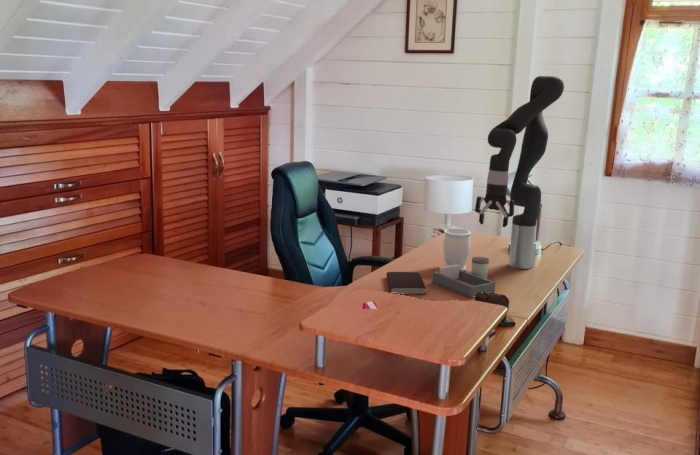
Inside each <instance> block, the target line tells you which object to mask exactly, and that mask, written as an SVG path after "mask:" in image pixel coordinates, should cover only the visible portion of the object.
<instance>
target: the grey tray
mask: <svg viewBox="0 0 700 455" xmlns="http://www.w3.org/2000/svg"><path fill="white" fill-rule="evenodd" d="M431 278H432V279H431V281H432V282H431V283H432V284H434V285H437V286H439V287H441V288H444V289H447V290H449V291H451V292H454V293H457V294H460V295H462V296H464V297H467V298H469V299H474V298H475V297H474V296H475V293H477V292H487V293H493V294H495V288H496V282H495V281H493V280H490V279H488V278H487V279H485V278H482V277H479V276H476V275H474V274H471V272H468V271H465V270H463V271H462V270H459V279H453V278H450V277H447V276H445V275H442V274H439V272H436V271H433V272H432V277H431Z"/></svg>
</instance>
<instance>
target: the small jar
mask: <svg viewBox="0 0 700 455" xmlns="http://www.w3.org/2000/svg"><path fill="white" fill-rule="evenodd" d="M489 263H490V259H489V258H488V257H485V256H473V257H472V258H471V268H470V269H471V270H470V271H471V272H470V273H471V274H474V275H476V276H479V277H482V278H485V279H488V272H489Z"/></svg>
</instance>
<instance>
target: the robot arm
mask: <svg viewBox="0 0 700 455" xmlns="http://www.w3.org/2000/svg"><path fill="white" fill-rule="evenodd" d="M564 90H565V85H564V81H563V79H562V78H561V77H560V76H555V75H554V76H553V75H538V76H536V77H535V78H534V79H533V81H532V83H531V87H530V91H529V92H530V95H529V101H528V102H526V103H524V104H522V105H520V106H518V107H517V109H515V110H514V111H513V112H512V113H511V114H510V116H508V117H507V119H505V120H504V121H502V122H500V123H499V124H498V125H495V126H494V127H493V128H492V129H491V130H490V131H489V132H488V133H489V134H488V135H487V143H488V145H489V146H490V147H492V148H496V149H497V148H498V149H499V152H498V153H496V154H492V155H491V156H490V160H489V168H488V174H487V178H486V190H485V196H481V195H478V196H477V197H476V202H475V209H474V212H475V213H478V214H479V217H478V222H479V224H480V225H484V222H485V212H487V210H495V211H500V212H501V214H502V216H503V218H502V219H503V220H502V228H506V227H507V226H508V223H509V217H510V218H511V217H512V222H511V235H510V246H509V247H510V248H509V255H508V256H509V259H508V266H509V267H511V268H514V269H521V270H525V269H526V270H527V269H531V268H533V267H534V266H535V258H536V248H537V243H536V241H535V240H536V232H537V230H536V228H537V222H538V218H539V216H540V208H541V201H542V190H541V188H540V187H539V186H538V185H536V184H532V183H528V181H529V180H528V179H529V177H530V174H531V172H532V171H533V168H535V166H536V165H537V164H538V162H539V161H540V160H541V159H542V157H543V156H544V155H545V153H546V149H547V145H548V139H549V132H548V128H547V126H546V121H545V119H544V116H543V111H544V110H546V109H547V108H548V107H549V106H551V105H552V104H553V103H555V102H556V101H557V100H559V99H560V97H561V96H562V95H563V92H564ZM523 130H524V134H523V138H522V143H521V149H520V155H519V159H518V163H517V168H516V171H515V174H514V178H513V182H512V185H511V188H510V193H509V200H508V199H507V194H508V193H507V192H508V183H509V168H510V162H511V161H510V160H511V158H512V156H513V152H514V150H515V147H516V144H517V135H518V134H520V133H521V132H523ZM482 202H484V203H485V206H483V207H482V209H481V206H482V205H481V204H482ZM506 204H507V206H508V207H509V209H508V210H509V211H507V209H506V207H505V206H506ZM515 206H517V207H521V208H522V207H523V208H524V209H523V212H522V213H520V214H516V215H515Z"/></svg>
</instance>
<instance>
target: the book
mask: <svg viewBox="0 0 700 455" xmlns="http://www.w3.org/2000/svg"><path fill="white" fill-rule="evenodd" d="M386 279H387V283H388V287H389V293H390V292H397V293H400V294H399V295H402V294H401V293H404V294H403V295H409V294H413V295H414V294H416V295H419V296H425V295H427V293H426V284H425V282H424V280H423V278H422V274H421V273H420V272H418V271H415V272H414V271H387V272H386ZM414 296H415V295H414Z"/></svg>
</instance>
